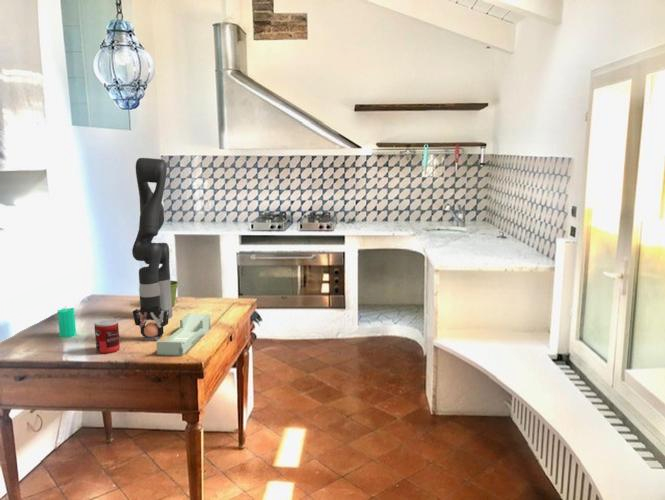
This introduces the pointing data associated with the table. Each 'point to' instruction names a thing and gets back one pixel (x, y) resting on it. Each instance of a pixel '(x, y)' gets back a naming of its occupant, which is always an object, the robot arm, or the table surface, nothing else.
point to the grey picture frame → (150, 338)
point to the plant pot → (173, 290)
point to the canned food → (107, 336)
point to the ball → (151, 329)
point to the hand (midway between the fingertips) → (152, 335)
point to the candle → (66, 322)
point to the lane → (185, 335)
